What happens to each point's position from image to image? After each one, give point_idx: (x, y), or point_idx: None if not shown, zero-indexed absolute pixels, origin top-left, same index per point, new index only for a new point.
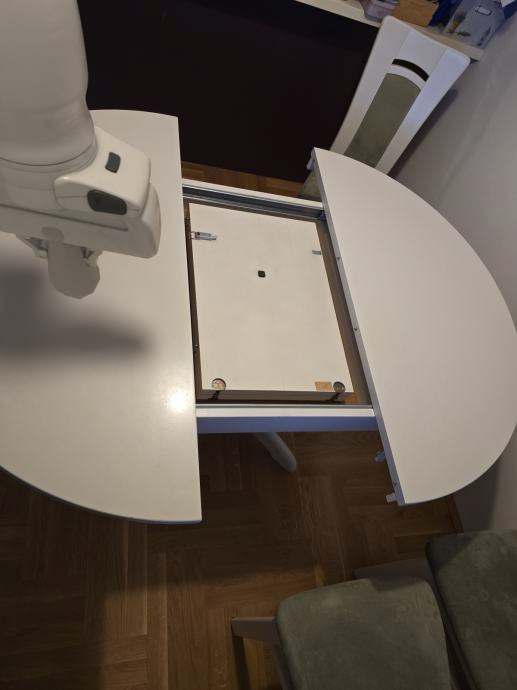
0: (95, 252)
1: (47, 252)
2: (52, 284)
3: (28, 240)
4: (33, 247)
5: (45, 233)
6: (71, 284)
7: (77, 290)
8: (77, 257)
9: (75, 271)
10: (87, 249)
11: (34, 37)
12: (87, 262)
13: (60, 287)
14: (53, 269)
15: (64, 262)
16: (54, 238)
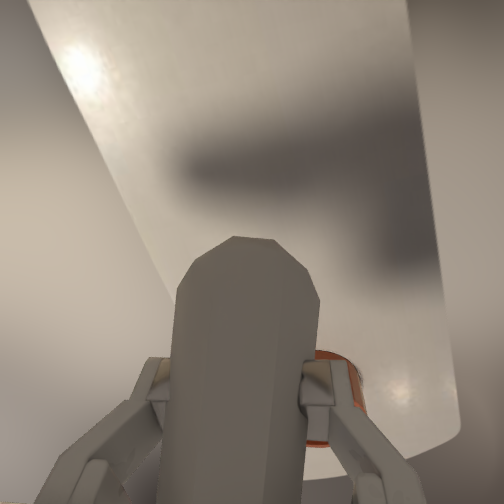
0: (88, 452)
1: (299, 395)
2: (296, 267)
3: (366, 457)
4: (348, 415)
5: None
6: (222, 282)
7: (211, 264)
8: (177, 404)
9: (197, 337)
10: None
11: None
12: (161, 378)
13: (263, 263)
14: (275, 329)
15: (220, 377)
16: None
